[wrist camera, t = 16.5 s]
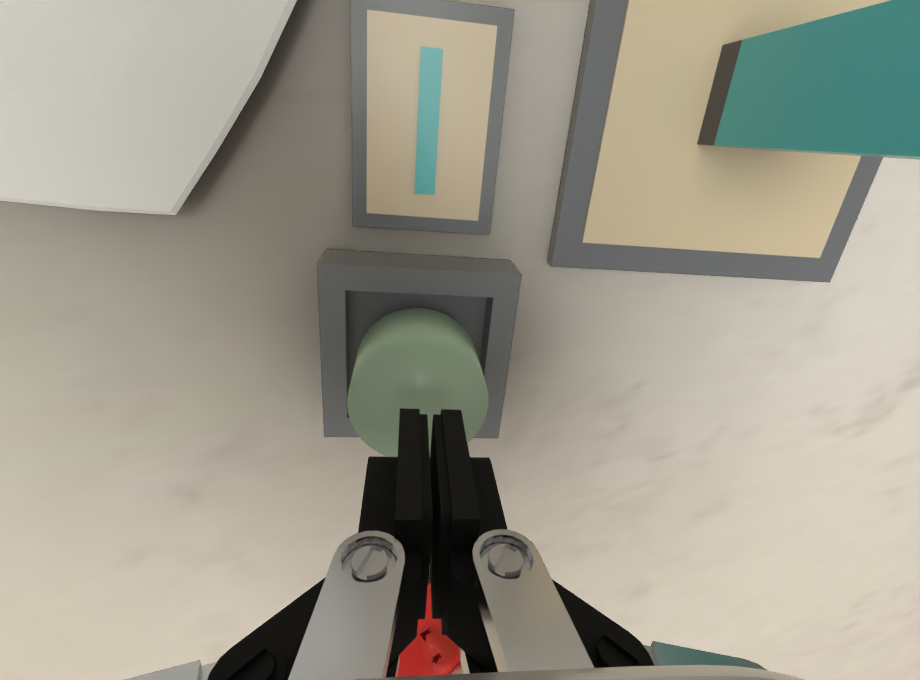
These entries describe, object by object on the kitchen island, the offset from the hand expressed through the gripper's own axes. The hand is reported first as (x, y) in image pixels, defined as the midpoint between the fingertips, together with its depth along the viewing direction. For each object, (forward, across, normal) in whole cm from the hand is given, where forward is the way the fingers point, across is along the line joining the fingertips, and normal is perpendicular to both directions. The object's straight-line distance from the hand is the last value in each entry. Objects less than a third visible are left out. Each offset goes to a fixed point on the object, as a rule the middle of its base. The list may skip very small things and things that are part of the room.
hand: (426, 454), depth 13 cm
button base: (+7, 0, 0) cm, 7 cm away
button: (+5, 0, 0) cm, 5 cm away
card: (+7, 0, -8) cm, 11 cm away
